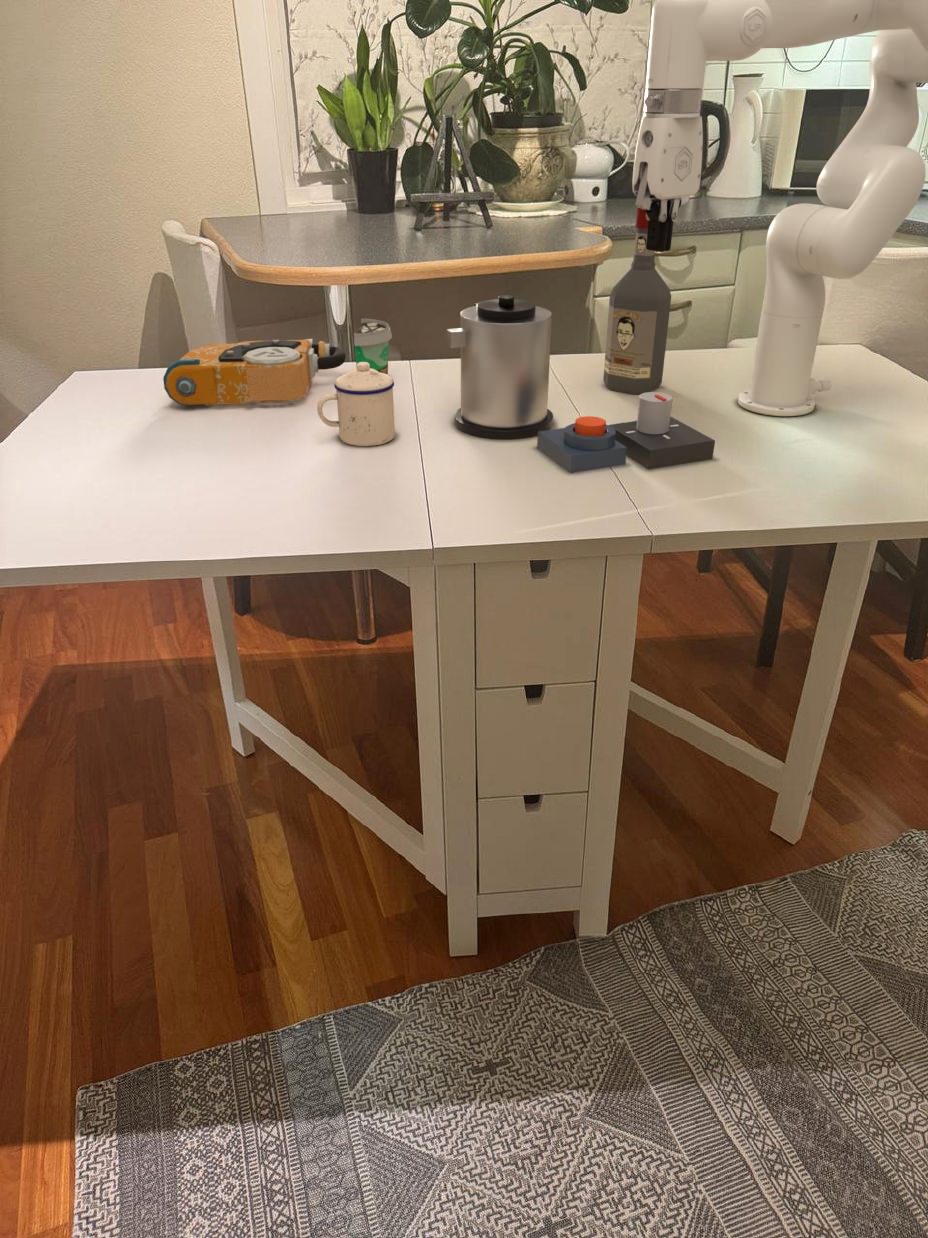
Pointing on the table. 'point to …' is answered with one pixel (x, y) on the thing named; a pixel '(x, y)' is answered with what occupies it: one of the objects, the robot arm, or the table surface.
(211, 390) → the device
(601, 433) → the button
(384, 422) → the teacup with lid
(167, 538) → the table surface
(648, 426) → the dial
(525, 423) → the kettle
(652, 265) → the liquor
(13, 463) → the table surface
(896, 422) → the table surface
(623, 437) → the console
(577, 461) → the button housing
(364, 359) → the food container
